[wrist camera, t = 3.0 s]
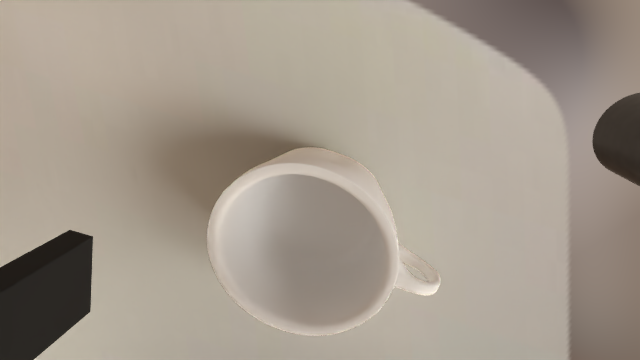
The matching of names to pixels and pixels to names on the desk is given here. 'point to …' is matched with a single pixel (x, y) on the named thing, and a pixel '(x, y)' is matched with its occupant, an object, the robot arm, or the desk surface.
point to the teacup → (310, 244)
